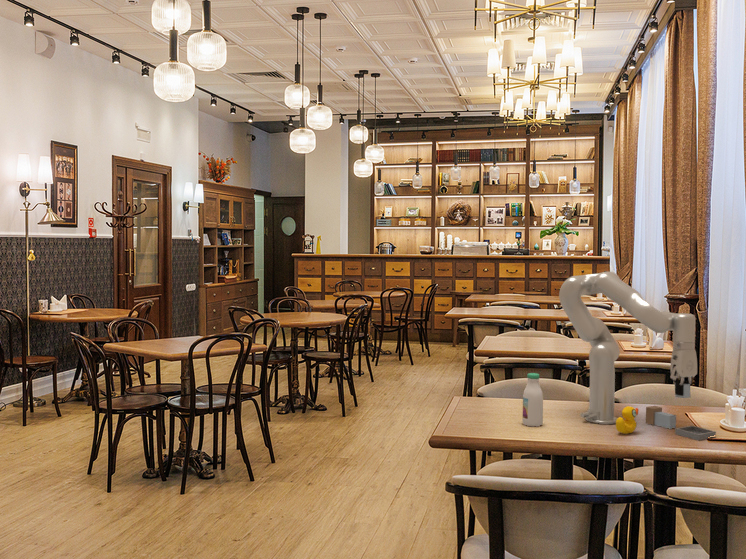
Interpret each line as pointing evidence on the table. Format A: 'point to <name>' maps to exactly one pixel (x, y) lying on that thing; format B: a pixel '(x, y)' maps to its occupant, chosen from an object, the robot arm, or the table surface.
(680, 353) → the robot arm
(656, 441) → the table surface
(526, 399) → the milk bottle
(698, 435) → the dish
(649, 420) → the grey and brown blocks
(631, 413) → the duckling
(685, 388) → the stub
